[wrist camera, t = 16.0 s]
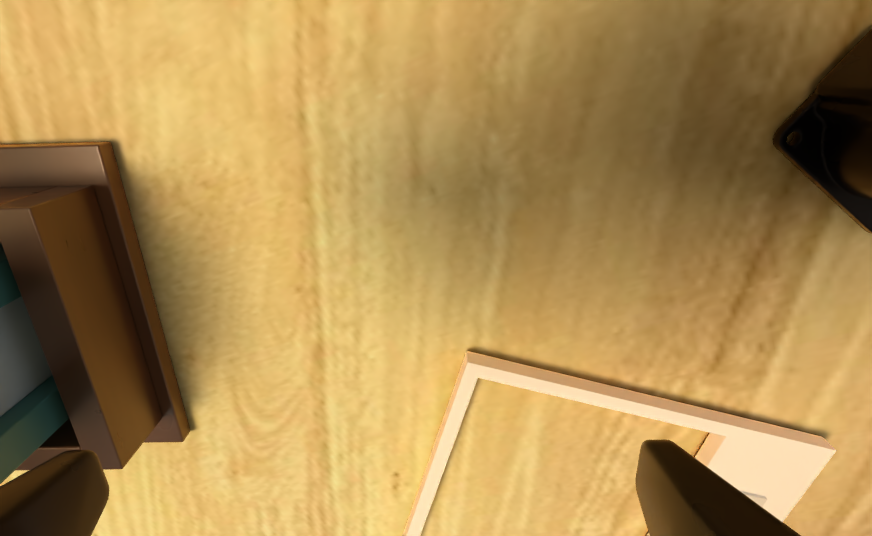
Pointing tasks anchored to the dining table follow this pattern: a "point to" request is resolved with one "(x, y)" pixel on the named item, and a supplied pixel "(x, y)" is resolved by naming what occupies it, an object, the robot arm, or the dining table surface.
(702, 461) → the photo frame
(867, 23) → the dining table surface
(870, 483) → the dining table surface
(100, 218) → the frame holder
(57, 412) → the picture frame
